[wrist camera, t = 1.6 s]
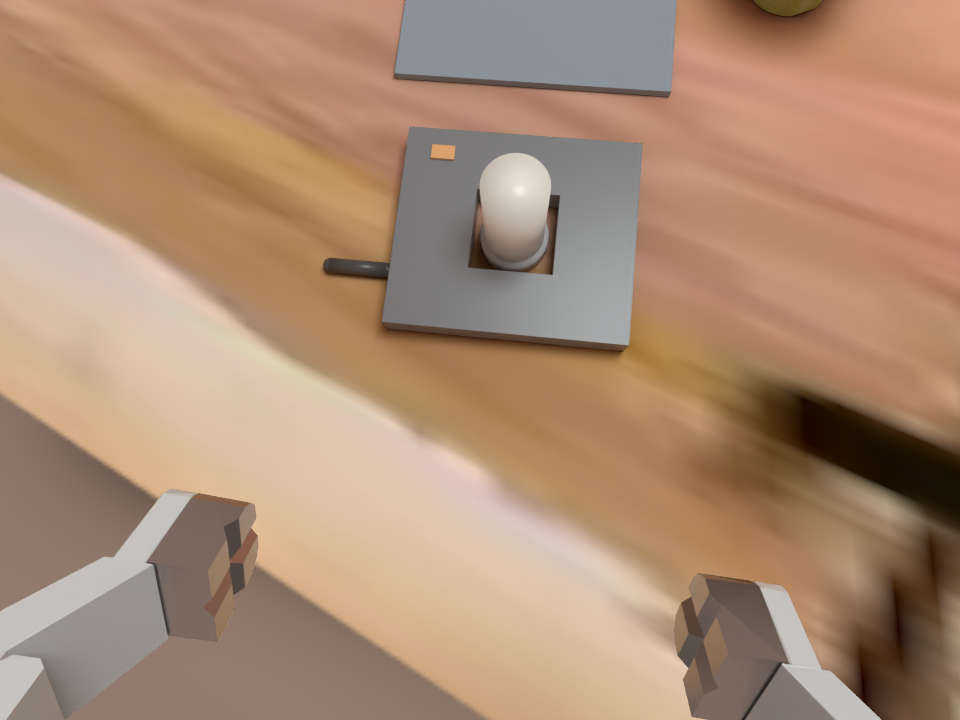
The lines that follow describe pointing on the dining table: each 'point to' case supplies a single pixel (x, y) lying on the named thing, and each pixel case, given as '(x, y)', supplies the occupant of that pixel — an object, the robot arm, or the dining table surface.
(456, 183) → the grey square frame
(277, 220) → the dining table surface
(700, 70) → the dining table surface
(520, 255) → the white rounded cylinder
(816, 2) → the plant pot
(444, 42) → the rubber mat
